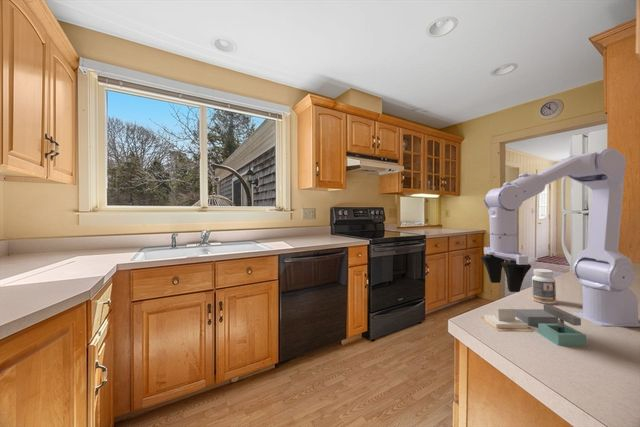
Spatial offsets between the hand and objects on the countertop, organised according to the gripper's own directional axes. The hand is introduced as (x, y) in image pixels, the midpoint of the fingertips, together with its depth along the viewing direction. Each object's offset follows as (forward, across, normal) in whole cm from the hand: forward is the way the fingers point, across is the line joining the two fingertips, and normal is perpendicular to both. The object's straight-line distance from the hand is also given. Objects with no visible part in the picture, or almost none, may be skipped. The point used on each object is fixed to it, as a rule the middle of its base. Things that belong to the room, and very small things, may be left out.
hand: (504, 286), depth 66 cm
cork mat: (+10, 0, 0) cm, 10 cm away
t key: (+10, +8, +7) cm, 14 cm away
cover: (+10, 0, 0) cm, 10 cm away
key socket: (+10, +8, +8) cm, 15 cm away
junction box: (+10, -2, +8) cm, 13 cm away
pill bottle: (+10, -17, +22) cm, 30 cm away
